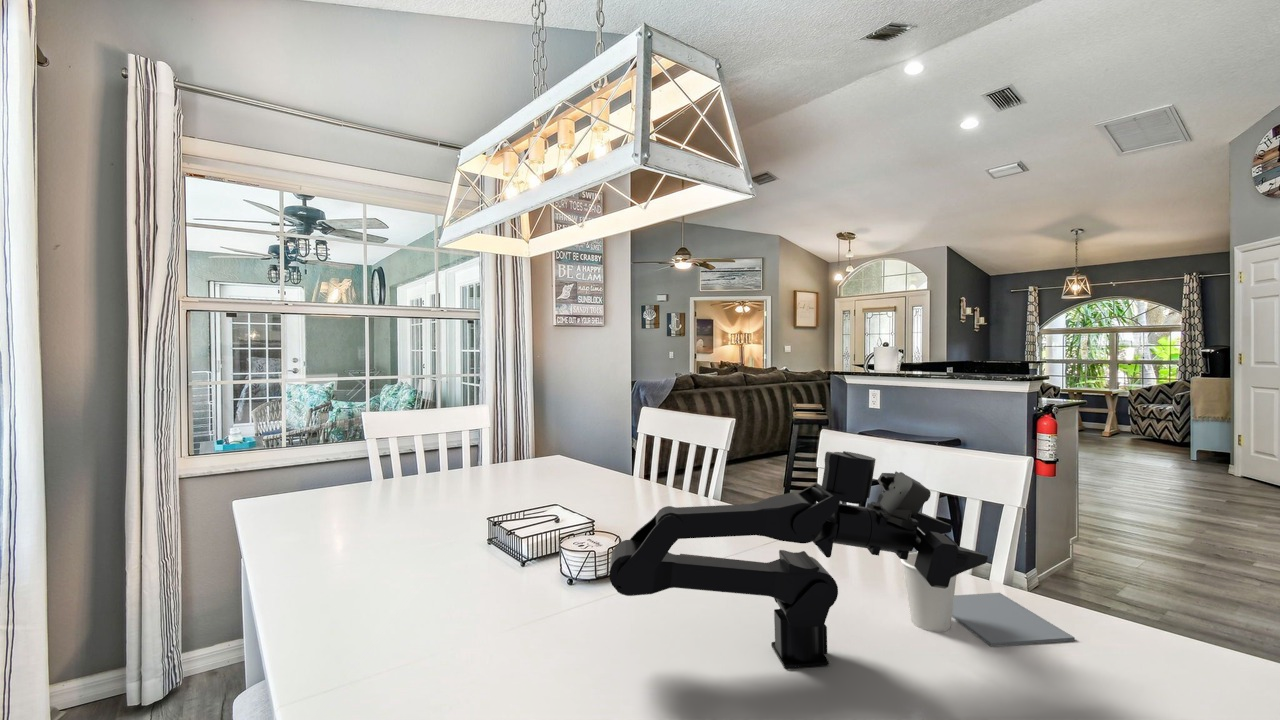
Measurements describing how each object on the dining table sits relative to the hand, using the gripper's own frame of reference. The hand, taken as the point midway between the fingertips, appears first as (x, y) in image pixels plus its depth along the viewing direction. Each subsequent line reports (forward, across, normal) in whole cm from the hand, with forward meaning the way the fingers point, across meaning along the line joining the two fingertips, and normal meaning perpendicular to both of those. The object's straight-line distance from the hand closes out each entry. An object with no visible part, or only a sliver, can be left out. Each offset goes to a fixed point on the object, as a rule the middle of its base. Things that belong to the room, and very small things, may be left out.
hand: (967, 543), depth 84 cm
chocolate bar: (-28, +31, +27) cm, 50 cm away
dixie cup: (+2, +6, +17) cm, 18 cm away
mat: (+12, +7, +15) cm, 20 cm away
